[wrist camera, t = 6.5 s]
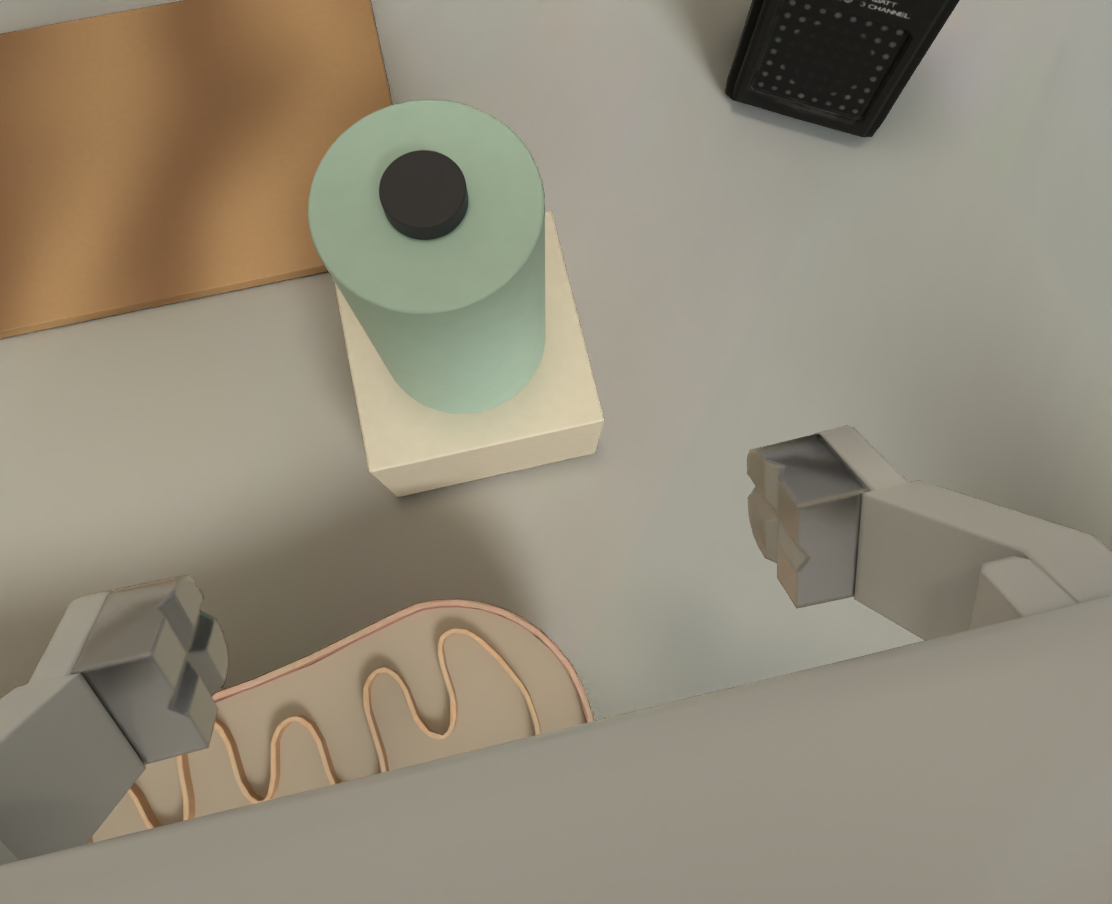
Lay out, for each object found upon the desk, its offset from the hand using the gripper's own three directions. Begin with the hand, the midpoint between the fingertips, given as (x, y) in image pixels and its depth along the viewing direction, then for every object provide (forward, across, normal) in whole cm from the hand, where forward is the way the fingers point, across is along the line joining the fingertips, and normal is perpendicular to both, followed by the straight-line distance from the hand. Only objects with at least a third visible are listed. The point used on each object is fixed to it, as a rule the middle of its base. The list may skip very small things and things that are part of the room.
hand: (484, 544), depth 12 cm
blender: (+20, 0, +7) cm, 21 cm away
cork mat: (+29, +10, -2) cm, 31 cm away
